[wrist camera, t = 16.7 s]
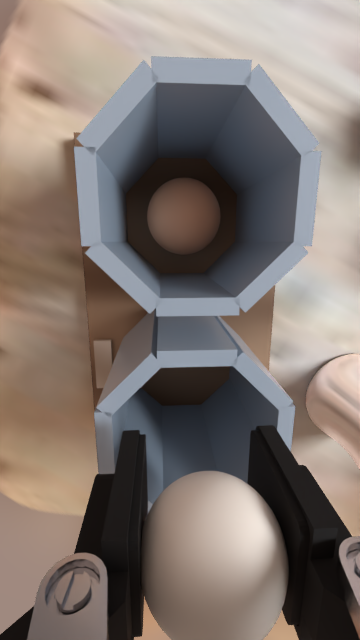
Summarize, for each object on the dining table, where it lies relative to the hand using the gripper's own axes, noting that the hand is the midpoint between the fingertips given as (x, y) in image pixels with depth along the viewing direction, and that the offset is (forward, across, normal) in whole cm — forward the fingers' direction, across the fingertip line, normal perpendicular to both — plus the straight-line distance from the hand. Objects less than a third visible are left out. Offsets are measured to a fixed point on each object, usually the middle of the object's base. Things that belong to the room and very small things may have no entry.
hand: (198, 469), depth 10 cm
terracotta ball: (+9, 0, -8) cm, 12 cm away
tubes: (+10, 0, -4) cm, 11 cm away
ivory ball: (-1, 0, 0) cm, 1 cm away
